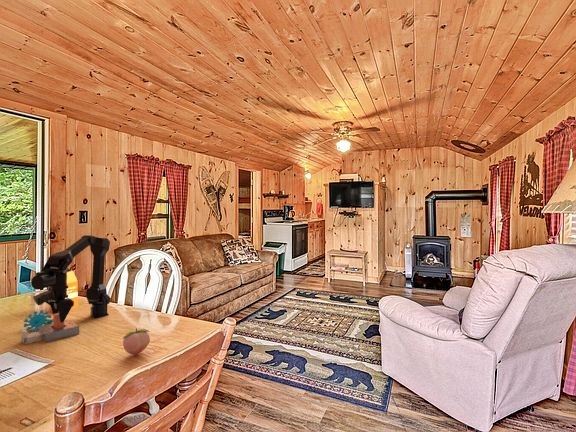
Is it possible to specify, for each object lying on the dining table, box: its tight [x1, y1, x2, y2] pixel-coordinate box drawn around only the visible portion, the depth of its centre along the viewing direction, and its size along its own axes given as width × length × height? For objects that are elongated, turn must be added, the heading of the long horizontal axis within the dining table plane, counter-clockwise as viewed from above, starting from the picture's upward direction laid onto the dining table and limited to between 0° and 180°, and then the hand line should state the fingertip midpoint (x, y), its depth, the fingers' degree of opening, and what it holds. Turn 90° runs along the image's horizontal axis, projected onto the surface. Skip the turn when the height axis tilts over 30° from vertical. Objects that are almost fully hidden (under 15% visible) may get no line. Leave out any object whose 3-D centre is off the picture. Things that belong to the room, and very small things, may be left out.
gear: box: [23, 309, 53, 333], centre depth 142 cm, size 11×6×10 cm
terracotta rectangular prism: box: [52, 313, 64, 329], centre depth 135 cm, size 3×3×9 cm
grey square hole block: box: [36, 319, 80, 343], centre depth 136 cm, size 12×12×4 cm
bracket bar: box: [21, 328, 43, 346], centre depth 128 cm, size 6×4×5 cm, turn 141°
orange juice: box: [65, 270, 79, 310], centre depth 169 cm, size 8×9×20 cm
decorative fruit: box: [122, 328, 151, 356], centre depth 119 cm, size 9×8×10 cm
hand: (58, 319), depth 135 cm, fingers open, 9 cm apart
